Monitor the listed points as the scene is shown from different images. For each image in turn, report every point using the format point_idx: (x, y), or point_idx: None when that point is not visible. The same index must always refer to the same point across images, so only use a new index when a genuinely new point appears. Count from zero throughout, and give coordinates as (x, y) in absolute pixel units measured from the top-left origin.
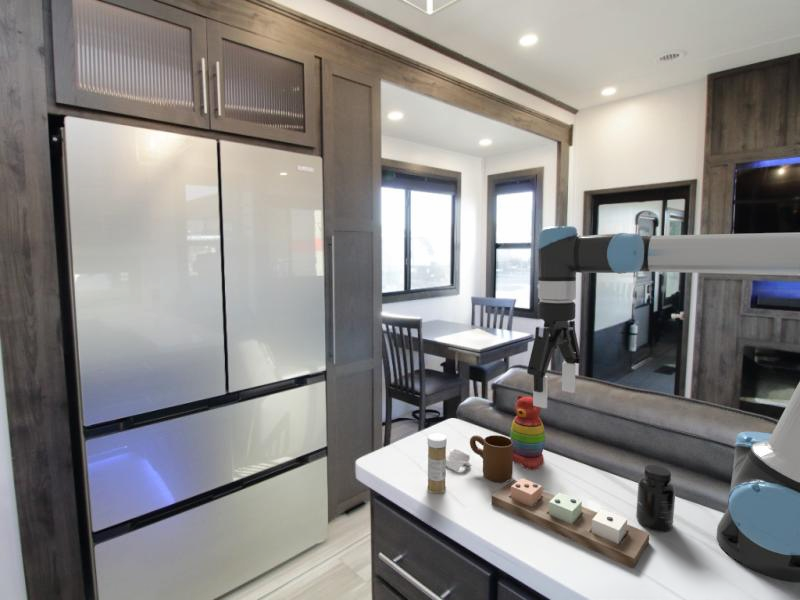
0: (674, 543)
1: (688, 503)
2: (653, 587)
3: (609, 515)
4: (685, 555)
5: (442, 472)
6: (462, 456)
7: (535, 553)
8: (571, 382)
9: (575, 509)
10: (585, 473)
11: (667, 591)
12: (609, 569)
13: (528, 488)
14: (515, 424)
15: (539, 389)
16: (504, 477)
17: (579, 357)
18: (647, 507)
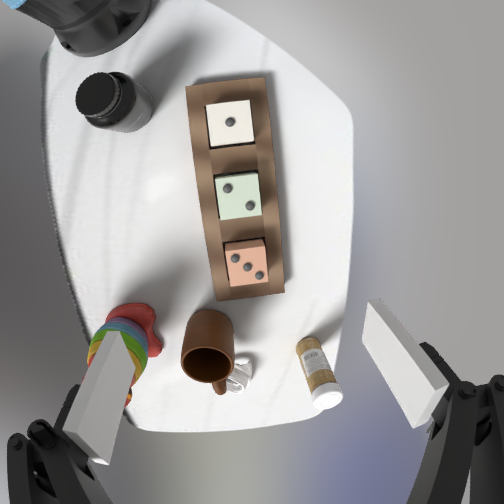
0: (161, 70)
1: (52, 113)
2: (277, 56)
3: (219, 127)
4: (178, 52)
5: (318, 355)
6: (237, 376)
7: (333, 181)
8: (110, 369)
9: (243, 175)
10: (87, 248)
11: (271, 44)
12: (289, 101)
13: (252, 260)
14: (137, 379)
15: (433, 351)
16: (218, 314)
17: (17, 437)
18: (145, 102)
